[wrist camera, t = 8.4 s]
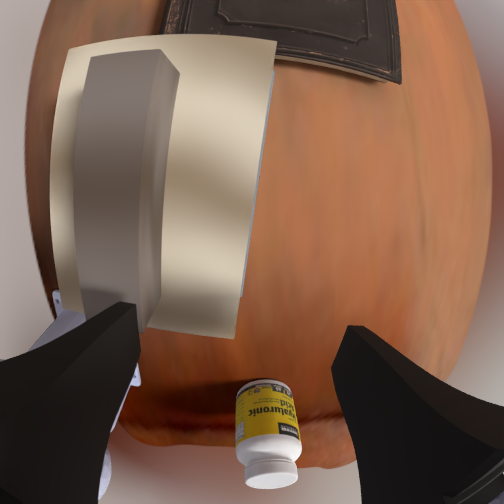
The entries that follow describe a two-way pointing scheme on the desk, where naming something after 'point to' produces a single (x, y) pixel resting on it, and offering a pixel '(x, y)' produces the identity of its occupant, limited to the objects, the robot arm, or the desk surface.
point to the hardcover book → (303, 30)
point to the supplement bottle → (267, 434)
